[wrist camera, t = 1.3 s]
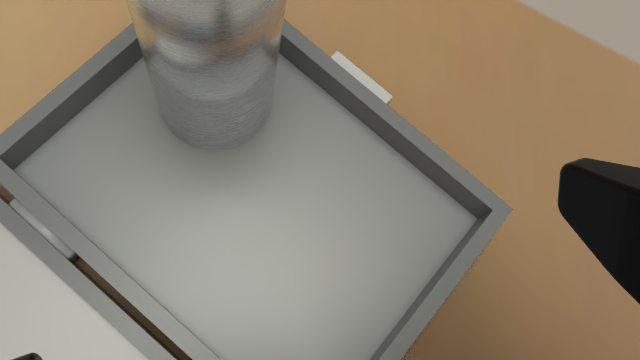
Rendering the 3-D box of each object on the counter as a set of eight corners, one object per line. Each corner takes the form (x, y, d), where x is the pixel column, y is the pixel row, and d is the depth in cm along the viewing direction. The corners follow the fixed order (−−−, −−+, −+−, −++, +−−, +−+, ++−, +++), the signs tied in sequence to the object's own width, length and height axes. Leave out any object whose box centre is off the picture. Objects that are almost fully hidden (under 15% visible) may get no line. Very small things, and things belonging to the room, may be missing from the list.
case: (495, 212, 25) (522, 197, 23) (307, 460, 22) (316, 472, 19) (222, -16, 27) (220, -52, 25) (-1, 178, 23) (-28, 158, 21)
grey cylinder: (294, 96, 25) (352, -166, 12) (218, 173, 23) (199, -37, 11) (213, 28, 25) (191, -292, 13) (133, 99, 24) (23, -183, 11)
